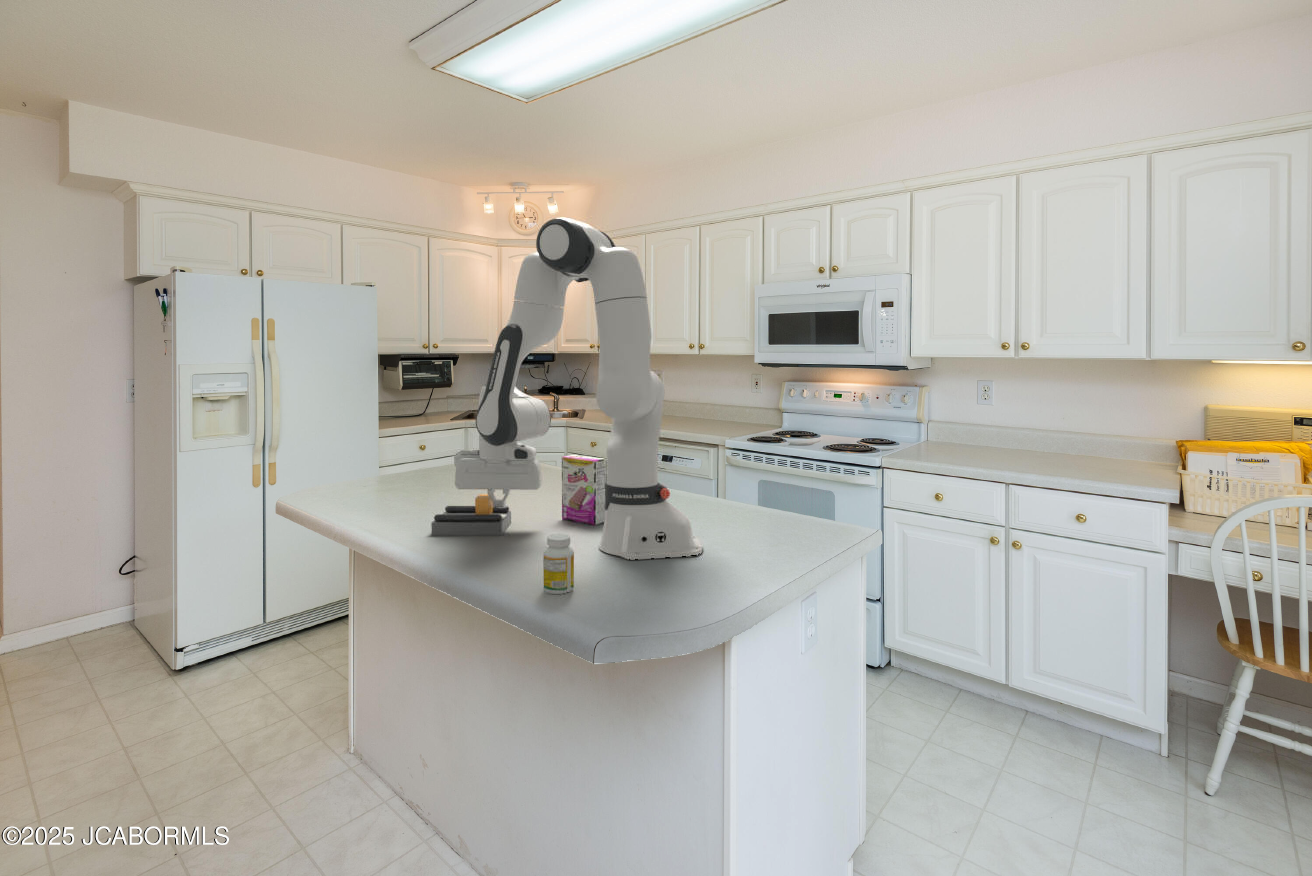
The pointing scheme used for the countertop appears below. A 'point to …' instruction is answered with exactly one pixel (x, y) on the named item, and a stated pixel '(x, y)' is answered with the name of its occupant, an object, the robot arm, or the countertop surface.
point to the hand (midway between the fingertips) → (499, 507)
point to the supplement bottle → (558, 565)
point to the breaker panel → (470, 522)
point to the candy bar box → (583, 489)
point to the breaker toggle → (483, 504)
